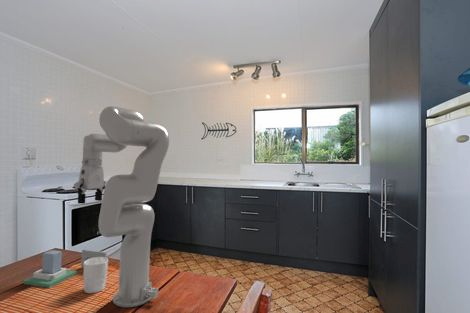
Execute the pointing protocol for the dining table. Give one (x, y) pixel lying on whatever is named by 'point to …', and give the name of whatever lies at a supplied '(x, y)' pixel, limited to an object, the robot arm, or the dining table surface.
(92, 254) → the cassette
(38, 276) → the header board
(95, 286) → the white cup
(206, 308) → the dining table surface
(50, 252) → the plug
